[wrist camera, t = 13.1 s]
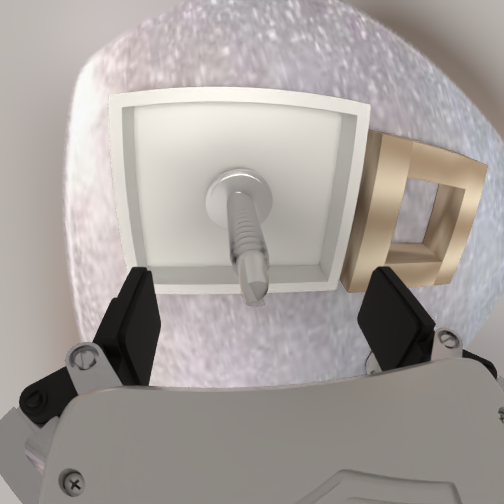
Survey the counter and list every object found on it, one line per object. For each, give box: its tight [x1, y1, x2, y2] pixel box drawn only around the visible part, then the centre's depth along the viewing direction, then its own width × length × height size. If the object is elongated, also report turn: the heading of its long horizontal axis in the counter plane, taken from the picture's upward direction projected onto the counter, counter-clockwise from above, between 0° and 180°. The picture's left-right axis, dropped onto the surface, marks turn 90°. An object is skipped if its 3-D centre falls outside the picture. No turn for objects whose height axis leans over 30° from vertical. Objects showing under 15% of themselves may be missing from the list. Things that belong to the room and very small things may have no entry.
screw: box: [206, 169, 273, 307], centre depth 16 cm, size 13×5×5 cm
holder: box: [339, 129, 488, 293], centre depth 23 cm, size 14×14×4 cm
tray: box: [108, 87, 371, 294], centre depth 21 cm, size 16×18×4 cm
